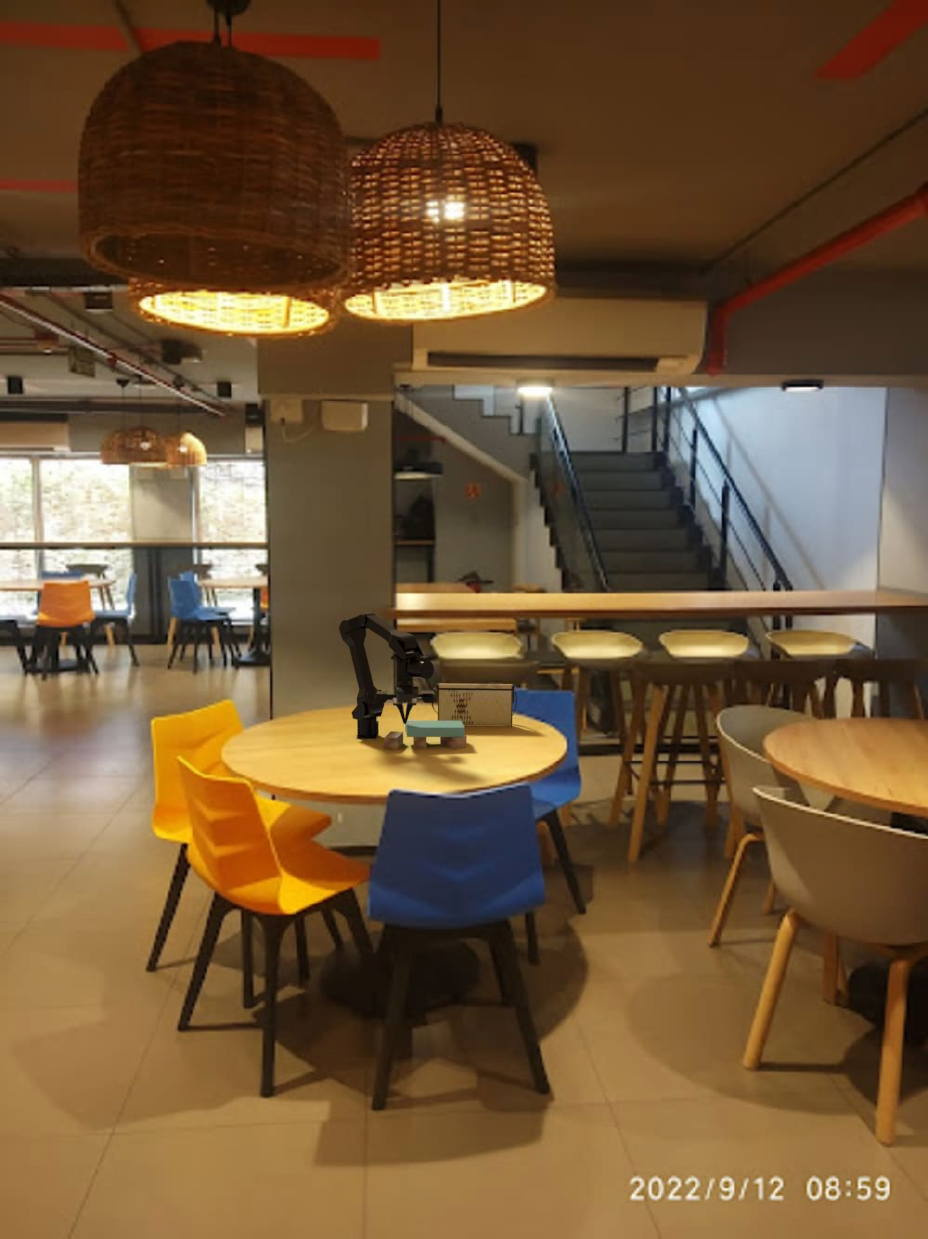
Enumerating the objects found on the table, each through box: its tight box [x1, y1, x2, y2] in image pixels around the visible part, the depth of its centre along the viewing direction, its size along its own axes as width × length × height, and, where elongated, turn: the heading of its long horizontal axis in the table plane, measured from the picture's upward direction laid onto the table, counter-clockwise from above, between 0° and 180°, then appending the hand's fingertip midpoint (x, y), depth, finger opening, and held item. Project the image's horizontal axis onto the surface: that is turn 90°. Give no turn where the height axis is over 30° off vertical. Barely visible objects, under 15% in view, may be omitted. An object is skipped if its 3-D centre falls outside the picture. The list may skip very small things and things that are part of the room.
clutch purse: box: [431, 682, 519, 727], centre depth 309 cm, size 30×7×15 cm, turn 88°
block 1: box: [383, 731, 404, 751], centre depth 281 cm, size 4×8×4 cm, turn 170°
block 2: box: [412, 737, 427, 750], centre depth 282 cm, size 4×8×4 cm, turn 3°
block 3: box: [439, 735, 467, 750], centre depth 282 cm, size 8×4×4 cm, turn 42°
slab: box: [404, 720, 466, 738], centre depth 283 cm, size 18×9×3 cm, turn 98°
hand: (404, 723), depth 280 cm, fingers closed
